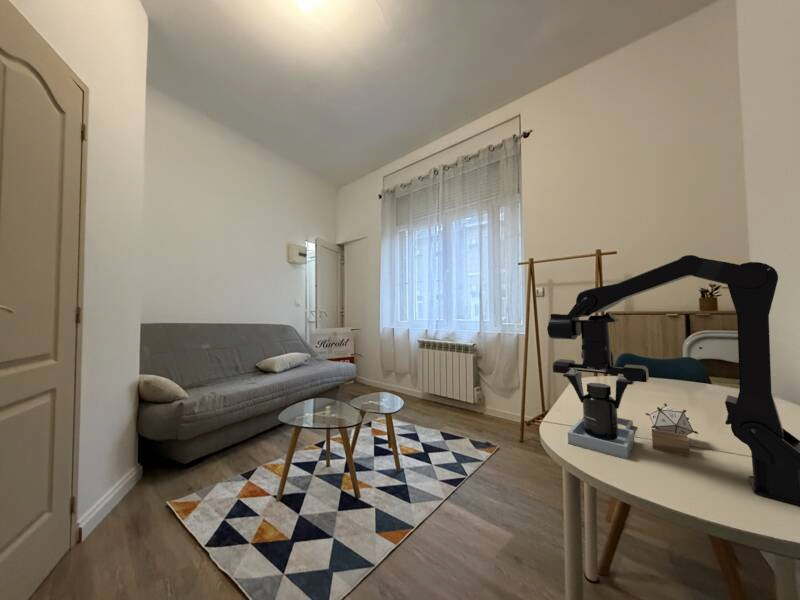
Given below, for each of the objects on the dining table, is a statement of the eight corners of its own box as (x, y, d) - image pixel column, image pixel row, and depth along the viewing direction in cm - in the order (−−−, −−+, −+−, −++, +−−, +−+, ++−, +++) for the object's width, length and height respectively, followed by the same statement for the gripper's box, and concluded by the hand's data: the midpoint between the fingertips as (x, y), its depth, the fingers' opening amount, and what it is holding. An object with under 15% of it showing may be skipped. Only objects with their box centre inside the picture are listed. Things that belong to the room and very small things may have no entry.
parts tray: (627, 459, 62) (627, 446, 62) (568, 443, 70) (567, 432, 70) (634, 441, 70) (633, 430, 70) (580, 429, 78) (579, 419, 78)
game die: (668, 456, 69) (642, 424, 69) (656, 431, 76) (633, 402, 77) (714, 447, 64) (686, 412, 65) (697, 421, 72) (672, 389, 72)
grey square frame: (627, 438, 71) (627, 432, 72) (579, 427, 79) (579, 421, 79) (632, 426, 79) (632, 420, 79) (588, 417, 86) (588, 412, 86)
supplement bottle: (582, 436, 69) (579, 385, 70) (586, 427, 74) (583, 380, 75) (618, 443, 65) (614, 389, 65) (619, 433, 70) (616, 383, 71)
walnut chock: (690, 457, 62) (688, 441, 62) (653, 449, 66) (652, 434, 66) (687, 450, 65) (686, 434, 65) (652, 443, 69) (651, 428, 69)
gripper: (648, 339, 70) (653, 404, 69) (563, 337, 83) (566, 391, 82) (643, 343, 62) (648, 417, 61) (550, 340, 75) (553, 400, 74)
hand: (599, 405), depth 70 cm, fingers closed on supplement bottle, 7 cm apart
